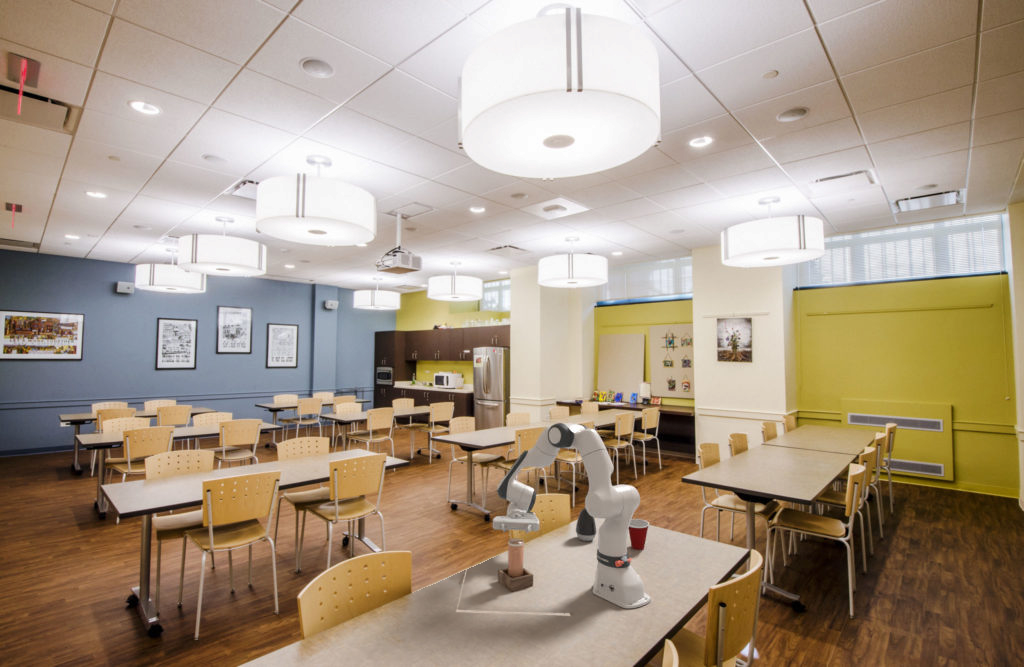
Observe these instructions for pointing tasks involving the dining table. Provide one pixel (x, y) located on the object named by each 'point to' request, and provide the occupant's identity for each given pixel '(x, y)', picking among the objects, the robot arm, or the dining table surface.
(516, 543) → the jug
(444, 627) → the dining table surface
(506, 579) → the holder
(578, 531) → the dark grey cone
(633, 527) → the plastic cup
